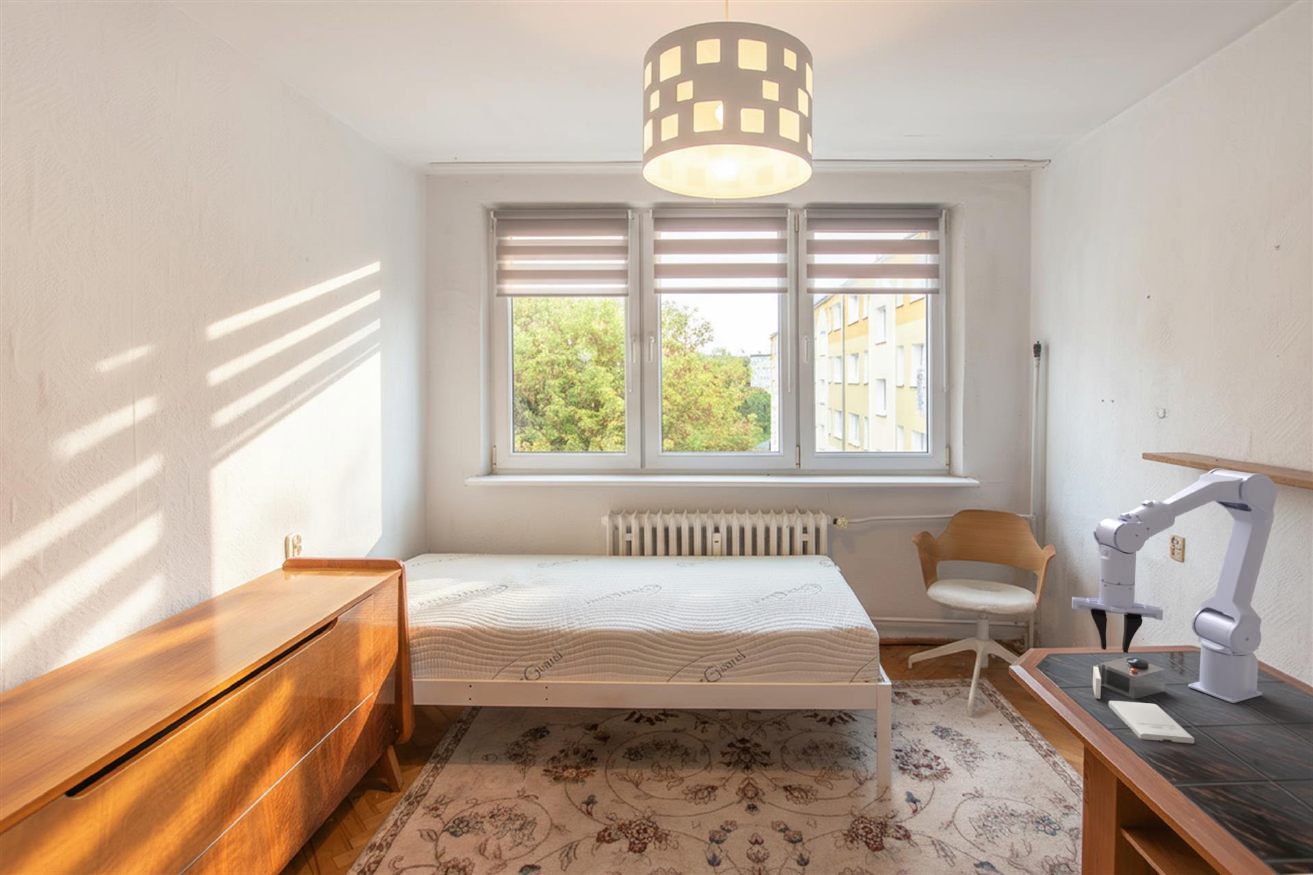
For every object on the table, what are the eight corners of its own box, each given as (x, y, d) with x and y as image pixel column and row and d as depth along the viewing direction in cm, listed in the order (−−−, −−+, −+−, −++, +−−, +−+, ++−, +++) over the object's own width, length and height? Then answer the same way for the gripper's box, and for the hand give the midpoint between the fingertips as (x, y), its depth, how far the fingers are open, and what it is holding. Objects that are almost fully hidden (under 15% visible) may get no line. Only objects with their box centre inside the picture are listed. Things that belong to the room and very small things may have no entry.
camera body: (1129, 677, 141) (1130, 650, 141) (1164, 691, 135) (1165, 663, 134) (1098, 684, 138) (1099, 657, 138) (1133, 699, 132) (1134, 670, 131)
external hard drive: (1156, 712, 128) (1194, 746, 115) (1108, 708, 129) (1140, 741, 117) (1157, 703, 127) (1194, 736, 115) (1108, 699, 129) (1140, 732, 117)
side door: (1099, 684, 138) (1100, 665, 138) (1103, 699, 131) (1104, 679, 131) (1092, 682, 138) (1092, 663, 138) (1095, 697, 132) (1096, 678, 132)
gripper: (1074, 581, 131) (1071, 649, 132) (1166, 591, 124) (1163, 663, 125) (1072, 572, 138) (1070, 637, 139) (1160, 581, 131) (1157, 650, 132)
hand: (1114, 649), depth 132 cm, fingers open, 3 cm apart
